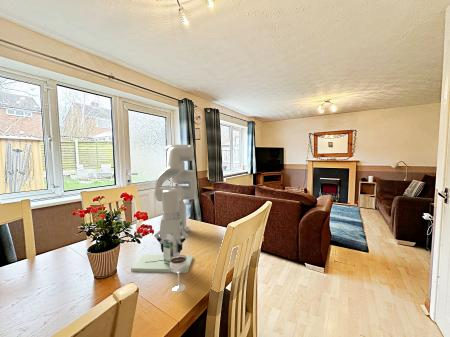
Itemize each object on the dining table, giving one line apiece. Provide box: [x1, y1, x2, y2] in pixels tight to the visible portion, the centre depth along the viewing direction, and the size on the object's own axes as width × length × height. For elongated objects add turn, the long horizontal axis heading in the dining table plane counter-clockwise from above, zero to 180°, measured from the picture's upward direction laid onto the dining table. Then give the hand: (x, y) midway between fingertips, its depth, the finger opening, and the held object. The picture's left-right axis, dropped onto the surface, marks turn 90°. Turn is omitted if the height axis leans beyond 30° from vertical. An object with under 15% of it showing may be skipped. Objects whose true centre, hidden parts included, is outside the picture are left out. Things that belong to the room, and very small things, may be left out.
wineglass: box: [170, 254, 187, 293], centre depth 77 cm, size 7×7×12 cm
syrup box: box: [162, 234, 181, 264], centre depth 93 cm, size 6×6×14 cm
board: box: [130, 254, 194, 274], centre depth 94 cm, size 12×26×2 cm, turn 87°
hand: (171, 250), depth 94 cm, fingers closed on syrup box, 7 cm apart
